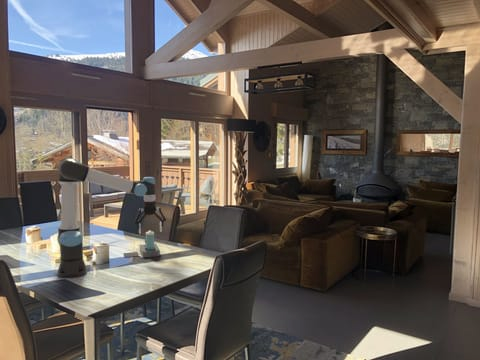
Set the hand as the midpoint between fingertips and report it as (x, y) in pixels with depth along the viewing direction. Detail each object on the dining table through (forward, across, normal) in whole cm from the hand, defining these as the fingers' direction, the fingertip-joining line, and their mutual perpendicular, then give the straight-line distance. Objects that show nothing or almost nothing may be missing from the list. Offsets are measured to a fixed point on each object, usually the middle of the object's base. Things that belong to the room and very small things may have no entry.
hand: (150, 232), depth 248 cm
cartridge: (+15, 0, 0) cm, 15 cm away
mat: (+15, -12, +4) cm, 20 cm away
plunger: (+14, 0, +9) cm, 17 cm away
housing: (+15, 0, +4) cm, 16 cm away
